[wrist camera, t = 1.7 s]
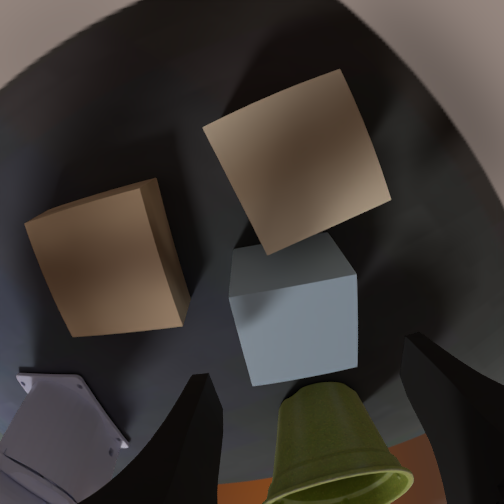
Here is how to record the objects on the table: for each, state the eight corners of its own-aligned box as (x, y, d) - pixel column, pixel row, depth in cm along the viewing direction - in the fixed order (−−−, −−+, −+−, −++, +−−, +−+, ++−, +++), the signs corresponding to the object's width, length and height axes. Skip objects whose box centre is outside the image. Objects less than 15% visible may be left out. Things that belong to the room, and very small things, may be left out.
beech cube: (350, 176, 15) (391, 199, 11) (261, 216, 16) (267, 255, 11) (310, 85, 14) (339, 68, 9) (216, 126, 14) (202, 127, 10)
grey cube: (334, 310, 18) (357, 366, 14) (251, 325, 19) (252, 386, 14) (327, 231, 16) (356, 274, 12) (233, 248, 17) (228, 297, 12)
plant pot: (368, 429, 23) (393, 510, 15) (261, 444, 24) (265, 532, 16) (386, 353, 20) (434, 451, 12) (250, 371, 20) (252, 488, 12)
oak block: (191, 295, 18) (182, 326, 15) (91, 309, 18) (72, 337, 16) (158, 176, 15) (139, 188, 13) (52, 207, 16) (24, 223, 13)
